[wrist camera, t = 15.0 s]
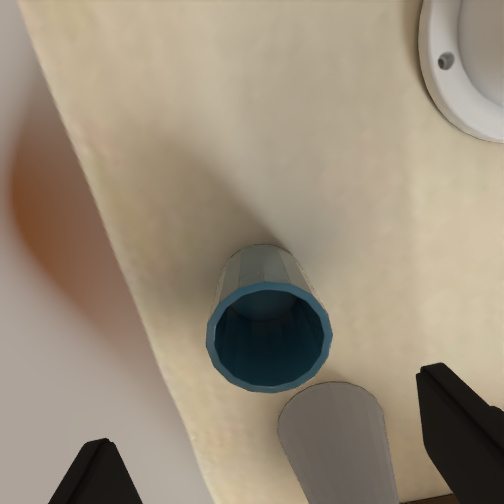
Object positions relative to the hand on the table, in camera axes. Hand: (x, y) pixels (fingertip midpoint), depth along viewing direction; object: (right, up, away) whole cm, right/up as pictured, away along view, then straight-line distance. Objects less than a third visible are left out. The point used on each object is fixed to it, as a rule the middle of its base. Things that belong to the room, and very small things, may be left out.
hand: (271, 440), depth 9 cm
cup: (0, +3, +11) cm, 12 cm away
